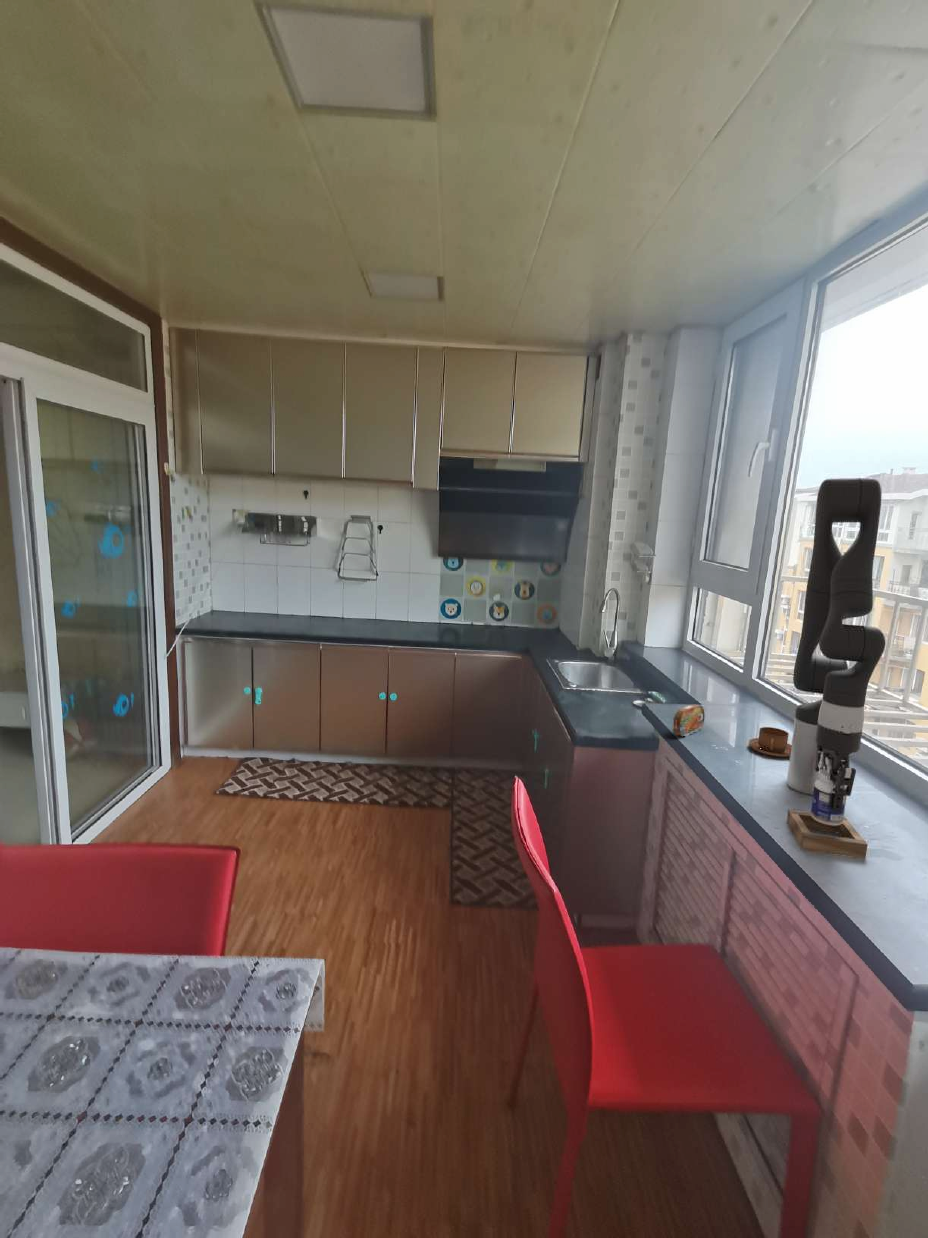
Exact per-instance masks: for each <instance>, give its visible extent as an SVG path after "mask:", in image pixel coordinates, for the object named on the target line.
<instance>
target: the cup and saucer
mask: <svg viewBox="0 0 928 1238" xmlns="http://www.w3.org/2000/svg"><path fill="white" fill-rule="evenodd" d="M788 741H789V732H788V731H786V730H784V729H780V728H777V727H770V726H764V727H763V726H762V727H760V728H759V731H758V738H757V737H754V738H751V739H749V741H748V745H749V746H750V747H751V748H752V750H754V751H756V752H757V753H761V754H763V755H766V756H769V757H770V756H771V757H776V758H777V757H781V758H783V757H784V758H786V757H790V753H791V745H792V744H790V743H788ZM760 748H761V749H760Z"/></svg>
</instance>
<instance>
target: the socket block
mask: <svg viewBox="0 0 928 1238" xmlns="http://www.w3.org/2000/svg"><path fill="white" fill-rule="evenodd" d="M786 825H787V826H788V828H789V829H790V831H791V833H792V835H793V836H794V838H795V839H796V841H797V842H798V844H799V846H800V848H801V849H802V851H807V852H808V851H809V852H816V853H823V854H829V855H836V856H844V857H852V858H858V859H863V860H864V859H866V858H867V850H868V844H869V843H867V842H866V841H865V839H864V838H863V837H862V835H861V834H860V833H859V832H858V830H856V828H855V827H854V826H853V825H852V824H851V822H850V820H848V818H846V816H844V820H843V823H842V824H841V825H838V826H832V825H826V824H823V823H820V822H818V821H816V820H815V819H813V818H812V816H811V812H806V811H799V810H793V809H792V810H789V809H788V811H787V818H786ZM810 830H812V831H813V830H814V831H819V832H820V831H821V832H827V833H828V832H829V833H836V834H838V835H839V836H834V835H826V834H820V833H811V831H810Z"/></svg>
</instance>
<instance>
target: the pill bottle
mask: <svg viewBox="0 0 928 1238" xmlns="http://www.w3.org/2000/svg"><path fill="white" fill-rule="evenodd" d="M833 776H834V777H837V775H833ZM818 777H819V780H817V781H816V782H815V784H814V792H813V795H812V801H811V809H810V813H811V816H812V818H813V819H815V820H816V821H818V822H820V823H823V824H826V825H832V826H838V825H841V824H842V823H843V820H844V817H845V811H846V803H847V797H848V796H846V795H844V799H843V806H842V811H841V812H833V811H830V810H829V808H828V805H829V798H830V792H831V791H830V789H831V787H830V781H829V780H828V779H827V770H826V769H822V770H820V771H819V774H818ZM835 785H836V782H835Z"/></svg>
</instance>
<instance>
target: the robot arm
mask: <svg viewBox="0 0 928 1238" xmlns="http://www.w3.org/2000/svg"><path fill="white" fill-rule="evenodd" d="M882 495H883V494H882V487H881V483H880V481H879V480H878V479H877V478H875V477H867V476H866V477H865V476H863V477H862V476H861V477H860V476H859V477H832V478H826V479H824V480H823V481H822V482H821V484H820V486H819V488H818V491H817V496H816V497H817V498H816V505H815V507H816V508H815V520H814V532H813V533H814V534H813V545H812V546H813V547H812V553H811V555H812V556H811V560H810V566H809V571H808V578H807V583H806V589H805V599H804V607H803V617H802V618H803V619H802V629H801V633H800V638H799V642H798V643H799V644H798V647H797V653H796V657H795V662H794V667H793V675H792V680H793V686H794V688H795V689H797V691H800V692H801V691H802V692H806V693H814V694H819V695H820V694H822V699H819V700H816V701H812V702H807V703H806V702H805V703H801V704H799V705H798V706H797V707H796V709H795V712H794V713H795V714H794V722H793V731H792V739H791V744H790V745H791V753H790V756H789V762H788V769H787V777H786V778H787V779H786V785H788V787H790V788H791V789H793V790H795V791H797V792H799V793H803V794H806V795H812V796H813V792H814V784H815V782H816V781H817V780H819V777H818V774H819V771H820V770H822V769H826V770H827V779H828V780H829V781H830V787H831V789H830V791H831V792H830V798H829V805H828V808H829V810H830V811H833V812H841V811H842V806H843V799H844V795H846V796H847V797H851V794H852V792H853V791H852V790H853V786H854V782H855V778H856V773H857V770H856V768H855V767H851V761H850V755H851V754H855V753H858V752H859V751H860V749H861V742H862V736H863V735H862V734H863V729H864V722H865V705H866V697H867V690H868V686H869V683H870V679H871V678H872V675H873V673H874V671H875V668H876V667H877V665H878V663H879V662H880V659H881V658H882V656H883V654H884V651H885V648H886V638H885V635H884V633H883V632H882V631H881V629H880V628H878V627H876V626H869V625H859V624H858V625H857V624H847V623H846V624H845V623H843V621H844V620H845V619H854V618H859V617H865V616H868V615H869V614H870V613H871V612H872V609H873V605H874V600H873V599H874V597H873V595H874V594H873V593H874V592H873V589H874V586H873V584H874V583H873V572H874V571H873V570H874V569H873V568H874V561H875V554H876V548H877V547H876V545H877V540H878V533H879V524H880V519H881V518H880V517H881V508H882ZM834 523H859V524H860V525H859V530H858V532H857V536H856V538H855V539H854V540H853V542H852V543H851V545H850V547H848V548H847V550H846V551H845V552H844V553H843V554H842V552H841V550H840V548H839V546H838V544H837V542H836V540H835V537H834V534H833V524H834ZM818 646H819V650H820V652H821V654H817V653H814V652H815V651H816V649H817V647H818ZM847 661H848V662H854V663H855V662H856V663H855V664H854V665H853V666H852V667H851V668H849V665H848V662H847ZM833 775H837V777H834V776H833ZM835 782H836V785H835Z"/></svg>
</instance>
